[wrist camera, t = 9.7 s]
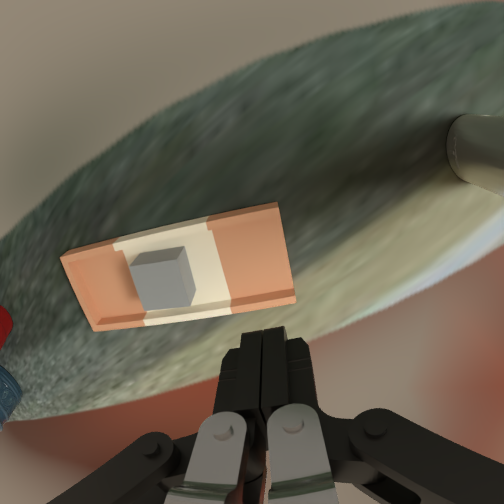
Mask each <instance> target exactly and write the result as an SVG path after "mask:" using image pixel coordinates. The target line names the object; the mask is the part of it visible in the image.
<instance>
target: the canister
mask: <svg viewBox="0 0 504 504" xmlns="http://www.w3.org/2000/svg"><path fill="white" fill-rule="evenodd" d="M21 398H22V391H21V389H20V387H19V385H18V384H17V382H16V381H15V379H14V378H13V377H12V376H11V375H10V374H9V373H8V372H7V371H6V370H5V369H4V368H3V367H1V366H0V431H2V430H3V424H4V423H5V422H7V421H8V420H9V417H10V416H11V414H12V413H13V411H14V409H15V408H16V406H17V405H19V403H20V401H21Z"/></svg>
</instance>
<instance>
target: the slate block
mask: <svg viewBox="0 0 504 504" xmlns="http://www.w3.org/2000/svg"><path fill="white" fill-rule="evenodd" d="M129 269H130V272H131V275H132V278H133V281H134V284H135V287H136V290H137V293H138V295H139V298H140V301H141V304H142V306H143V309H144V311H150V310H160V309H170V308H180V307H189V306H191V303H192V300H193V298H194V295H195V292H196V286H195V283H194V279H193V275H192V272H191V268H190V264H189V260H188V257H187V253H186V249H185V246H181V247H174V248H168V249H162V250H156V251H149V252H143V253H140V254H139V255H138V256H137V257H136V258H135V260H134V261H133V262H132V263H131V264H130V266H129Z"/></svg>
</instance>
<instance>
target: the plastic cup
mask: <svg viewBox="0 0 504 504" xmlns="http://www.w3.org/2000/svg"><path fill="white" fill-rule="evenodd" d="M12 327H13V322H12V318H11V316H10V315H9V313H8V312H7V311H6V309H5V308H3V307H2V306H1V305H0V350H1V348H2V346H3V344H4V342H5V341H6V338H7V336H8V335H9V333H10V332H11V330H12Z"/></svg>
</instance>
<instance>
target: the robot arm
mask: <svg viewBox="0 0 504 504" xmlns="http://www.w3.org/2000/svg"><path fill="white" fill-rule="evenodd" d="M446 145H447V156H448V160H449V163H450V166H451V167H452V169H453V171H454V172H455V173H456V175H457V176H458V177H459V178H461V179H462V180H464V181H466V182H469V183H471V184H474V185H477V186H479V187H481V188H484V189H486V190H489V191H491V192H493V193H496V194H498V195H501V196H503V197H504V116H492V115H478V114H465V115H462V116H460V117H459V118H457V119H456V120H455V121H454V122H453V124H452V126H451V127H450V129H449V133H448V136H447V143H446ZM220 371H221V373H220V375H219V382H218V387H217V392H216V398H215V404H214V409H213V414H212V416H210V417H209V418H207V419H206V420H205V421H204V422H203V423H202V425H201V426H200V429H199V432H197V433H195V434H192V435H189V436H186V437H182V438H179V439H176V440H171V438H170V437H169V436H168V435H166V434H164V433H161V432H151V433H147V434H145V435H143V436H141V437H140V438H138V439H137V440H136V441H135V442H133V443H132V444H130V445H129V446H128V447H126V448H125V449H124V450H123V451H121V452H120V453H118V454H117V455H116V456H114V457H113V458H112V459H110V460H109V461H108V462H106V463H105V464H104V465H102V466H101V467H100V468H98V469H97V470H95V471H94V472H92V473H91V474H90V475H88V476H87V477H85V478H84V479H82V480H81V481H80V482H78V483H77V484H75V485H74V486H72V487H71V488H69V489H68V490H66V491H65V492H64V493H62V494H60V495H59V496H57V497H56V498H54V499H53V500H51V501H50V502H48V503H47V504H263V503H264V495H265V487H266V478H267V466H266V451H267V450H269V460H270V471H271V489H270V490H269V493H268V504H339V501H338V497H337V492H336V488H335V483H334V482H342V483H352V484H353V485H354V486H355V487H357V488H358V489H359V490H361V491H362V492H364V493H365V494H367V495H368V496H369V497H371V498H373V499H374V500H376V501H378V502H379V503H380V504H504V464H502V463H499V462H497V461H494V460H492V459H490V458H487V457H485V456H483V455H481V454H478V453H476V452H474V451H472V450H470V449H467V448H465V447H463V446H461V445H459V444H457V443H454V442H452V441H450V440H448V439H446V438H444V437H442V436H440V435H438V434H435V433H433V432H431V431H429V430H427V429H425V428H423V427H421V426H419V425H417V424H416V423H413V422H411V421H410V420H408V419H406V418H404V417H402V416H400V415H398V414H396V413H394V412H392V411H390V410H387V409H382V408H375V409H370V410H367V411H364V412H362V413H361V414H359V415H358V416H356V417H355V418H354V419H341V418H335V417H331V416H329V415H327V414H325V413H324V412H323V411H322V410H321V409H320V408H319V406H318V400H317V394H316V386H315V379H314V374H313V367H312V362H311V356H310V351H309V346H308V344H307V343H306V342H305V341H304V340H303V339H302V338H301V337H300V338H295V339H289V340H288V339H287V334H286V330H285V327H284V326H281V327H276V328H270V329H264V330H259V331H253V332H247V333H242V335H241V343H240V348H234V349H230V350H229V351H228V352H227V354H226V355H225V357H224V358H223V359H222V364H221V370H220Z"/></svg>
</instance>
